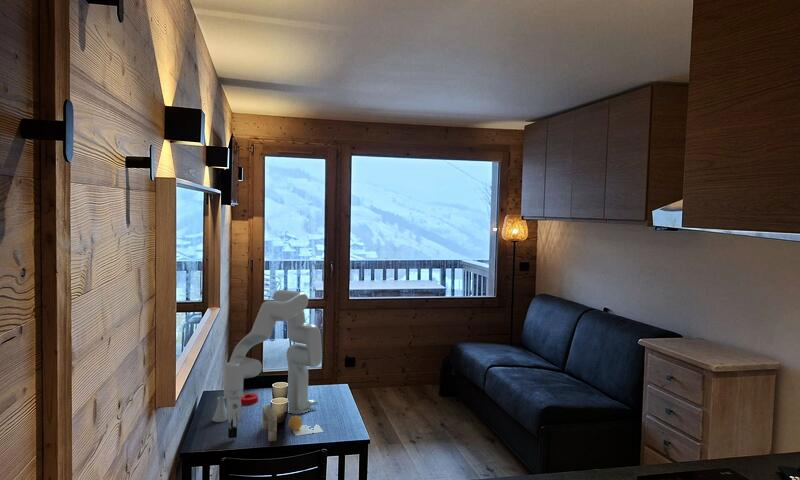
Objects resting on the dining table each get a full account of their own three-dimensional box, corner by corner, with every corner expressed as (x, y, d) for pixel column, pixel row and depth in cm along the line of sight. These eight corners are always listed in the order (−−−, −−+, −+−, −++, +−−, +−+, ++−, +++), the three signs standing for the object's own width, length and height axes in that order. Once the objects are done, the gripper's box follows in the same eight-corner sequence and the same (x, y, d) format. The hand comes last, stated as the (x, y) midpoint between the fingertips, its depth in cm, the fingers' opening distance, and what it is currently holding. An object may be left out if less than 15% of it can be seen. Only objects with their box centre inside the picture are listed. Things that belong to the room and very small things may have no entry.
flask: (223, 423, 230) (224, 401, 229) (208, 421, 231) (209, 399, 231) (232, 417, 237) (232, 396, 236) (217, 416, 238) (218, 394, 238)
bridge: (269, 427, 227) (269, 405, 226) (276, 440, 213) (276, 417, 213) (262, 428, 225) (262, 406, 225) (269, 441, 212) (269, 418, 212)
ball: (287, 414, 226) (286, 428, 226) (290, 418, 221) (289, 432, 221) (300, 413, 229) (299, 426, 229) (304, 417, 223) (303, 431, 223)
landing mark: (315, 422, 234) (315, 421, 234) (323, 432, 223) (323, 431, 223) (289, 425, 229) (289, 425, 229) (296, 436, 218) (296, 435, 218)
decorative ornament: (259, 404, 256) (259, 397, 256) (239, 406, 252) (239, 400, 252) (255, 398, 265) (255, 391, 265) (236, 400, 260) (236, 394, 260)
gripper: (245, 397, 206) (244, 443, 207) (240, 386, 220) (239, 429, 220) (226, 399, 203) (225, 445, 204) (221, 388, 217) (220, 431, 217)
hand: (232, 437), depth 212 cm, fingers closed
